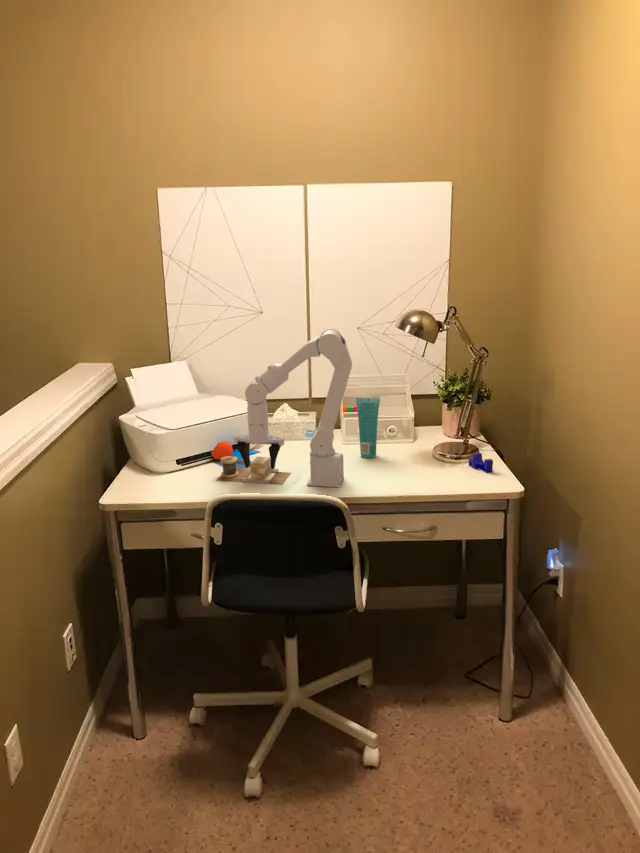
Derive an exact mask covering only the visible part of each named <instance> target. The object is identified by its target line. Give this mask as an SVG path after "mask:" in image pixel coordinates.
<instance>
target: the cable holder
mask: <svg viewBox="0 0 640 853" xmlns="http://www.w3.org/2000/svg"><path fill="white" fill-rule="evenodd" d="M472 455H473V456H472V457H468V466H469V467H471V468H472V469H473V470H481V471H483V473H486V474H489V473H493V469H494V468H493V466H494V460H493V459H492V458H485V459H483V454H482V453H481V452H480V451H479V452H473V454H472Z"/></svg>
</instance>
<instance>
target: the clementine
mask: <svg viewBox="0 0 640 853" xmlns="http://www.w3.org/2000/svg"><path fill="white" fill-rule="evenodd" d="M232 453H234V450H233V446H232V444H231V443H230V442H228V441H227V440H225V441H224V442H220V443H218V444H217V446H216V447H215V448H214V450H213V451H212V452H211V451H210V454H212V455H211V456H213V457H215V459H214V460H220V459H221V458H223V457H226V456H230V455H231V454H232ZM232 455H233V454H232ZM213 457H212V458H213Z"/></svg>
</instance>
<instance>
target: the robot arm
mask: <svg viewBox="0 0 640 853" xmlns="http://www.w3.org/2000/svg"><path fill="white" fill-rule="evenodd" d="M321 355H322V356H323V357H324V358H326V359H327V360H329V362H330V363H331V364H332V365H331V366H332V367H333V368H334V370H333V374H332V376H331V381H330V383H329V387H328V392H327V395H326V398H325V401H324V405H323V408H322V412H321V416H320V419H319V422H318V425H317V427H316V428H315V429H314V430H313V432H312V434H311V435H312V436H311V440H310V443H309V448H310V450H309V464H310V465H309V467H310V470H309V471H310V478H309V480H308V481H307V482H306V485H307V486H312V487H315V486H317V487H329V488H340V486H341V484H342V482H343V481H344V479H345V476H344V475H345V474H344V473H345V472H344V455H343V453H339V452H336V449H335V447H333V442H334V438H335V435H334V430H335V426H336V423H337V420H338V417H339V412H340V408H341V405H342V401H343V398H344V395H345V392H346V389H347V384H348V381H349V379H350V374H351V370H352V368H353V361H352V358H351V354H350V352H349V348H348V346H347V341H346V339H345V338H344V337H343V335H342V334H341V333H340V331H338V330H337V329H335V328H327V329H325V330H324V331H322V332H321V334H318V335H316V336H314V337H313V338H311V339H310V340H308V341H307V342H306V343H304V344H303V345H302V346H301V347H300V348H299V349H298V350H296V351H295V352H294V353H293V354H292V355H290V356H289V358H287V359H286V360H284V362H282V363H274V364H273V365H272V364H269V365H268V366H267V368H266V369H267V370H264V372H262V373H261V374H260V375H256V376H255V377H254V380H252V381H251V382H249V384H248V385H247V387H246V388H245V390H244V391H245V392H244V396H245V399H246V400H247V402H246V404H247V408H246V410H247V412H246V413H247V428H248V429H247V431H248V434H242V435H241V434H236V435H235V436H233V444H236V449H237V451H238V452H239V454H240V455H241V458H242V460H243V464H244V467H245V468H246V469H248V468H250V463H251V458H250V456H251V455H250V447H251V446H250V445H251V444H253V445H254V444H255V445H270V446H269V447H268V452H269V457H270V468H271V469H274V468H275V469H276V462H277V457H278V454H279V452H280V450H281V447H282V446H284V445H285V437H283V436H281V437H280V436H275V435H269V414H268V405H267V404H268V402H267V396H268V395H269V394H272V393H273V392H274V391H276V390H277V389H278V388H279V387H280V386H282V385H283V384H284V383H285V382H287V381H288V380H289V376H290V374H289V373H291V372H293V370H295V369H296V368H297V367H299V366H300V365H301V364H303V363H304V362H305V361H306V360H308V359H309V358H314V357H315V358H318V357H319V358H320V357H321Z"/></svg>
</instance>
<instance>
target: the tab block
mask: <svg viewBox="0 0 640 853" xmlns="http://www.w3.org/2000/svg"><path fill="white" fill-rule="evenodd" d="M270 468H271V467H270V456H256V457H255V458H254V459H253V460H251V461H250V466H249V470H250V471H251V478H257V479H266V478H267V477H268V476H269V474H270V473H271V472H270Z"/></svg>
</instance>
